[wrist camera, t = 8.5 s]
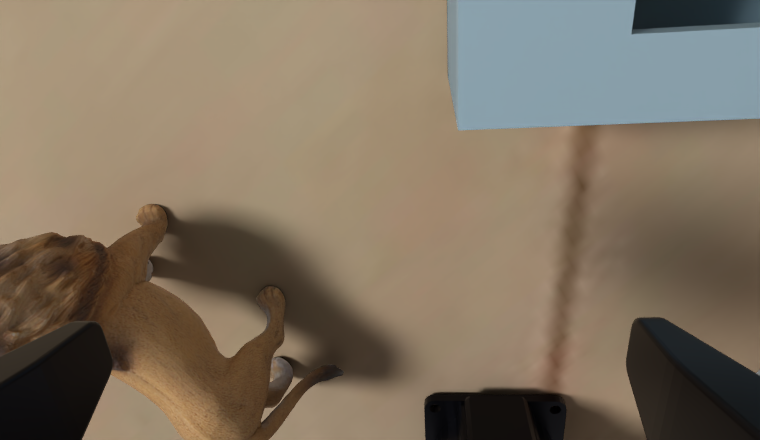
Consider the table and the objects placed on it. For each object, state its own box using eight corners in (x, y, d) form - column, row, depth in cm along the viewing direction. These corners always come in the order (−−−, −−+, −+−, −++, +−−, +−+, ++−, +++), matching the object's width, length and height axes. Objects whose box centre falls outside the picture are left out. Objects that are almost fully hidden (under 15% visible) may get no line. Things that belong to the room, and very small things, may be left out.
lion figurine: (34, 244, 24) (-168, 388, 16) (71, 148, 22) (-139, 259, 14) (318, 396, 26) (270, 588, 18) (376, 325, 24) (352, 506, 16)
